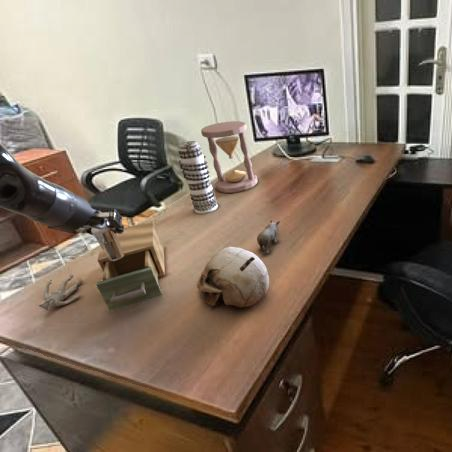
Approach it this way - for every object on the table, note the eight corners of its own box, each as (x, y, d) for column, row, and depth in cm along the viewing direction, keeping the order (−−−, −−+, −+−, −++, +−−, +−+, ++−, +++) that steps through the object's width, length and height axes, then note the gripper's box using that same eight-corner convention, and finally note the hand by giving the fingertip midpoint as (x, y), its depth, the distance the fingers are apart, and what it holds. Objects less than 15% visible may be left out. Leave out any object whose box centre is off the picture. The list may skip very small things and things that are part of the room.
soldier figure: (93, 285, 96) (69, 302, 84) (83, 299, 96) (57, 318, 84) (65, 270, 94) (37, 284, 82) (55, 284, 94) (25, 301, 82)
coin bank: (202, 281, 91) (193, 237, 84) (269, 275, 94) (266, 233, 87) (192, 325, 78) (181, 278, 71) (271, 317, 81) (267, 271, 74)
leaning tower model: (193, 206, 135) (174, 142, 123) (218, 201, 137) (201, 137, 125) (193, 215, 127) (172, 148, 115) (219, 210, 129) (201, 144, 117)
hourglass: (264, 177, 156) (253, 120, 144) (246, 193, 141) (232, 131, 129) (229, 177, 160) (215, 121, 148) (208, 192, 146) (191, 132, 133)
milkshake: (115, 251, 86) (98, 214, 81) (131, 253, 84) (114, 216, 79) (99, 261, 82) (79, 224, 77) (116, 263, 80) (97, 225, 75)
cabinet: (164, 275, 95) (152, 245, 91) (112, 291, 91) (97, 260, 86) (163, 248, 108) (153, 221, 103) (117, 261, 104) (104, 232, 99)
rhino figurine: (286, 231, 111) (283, 214, 108) (269, 255, 100) (265, 237, 97) (274, 230, 112) (271, 214, 109) (256, 254, 101) (252, 236, 98)
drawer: (162, 305, 83) (151, 279, 79) (107, 323, 79) (93, 296, 75) (161, 265, 98) (151, 241, 94) (115, 278, 94) (103, 254, 91)
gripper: (95, 183, 67) (141, 212, 83) (18, 192, 66) (80, 219, 82) (92, 221, 65) (140, 242, 81) (13, 230, 64) (77, 250, 80)
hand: (110, 230), depth 82 cm, fingers closed on milkshake, 4 cm apart
